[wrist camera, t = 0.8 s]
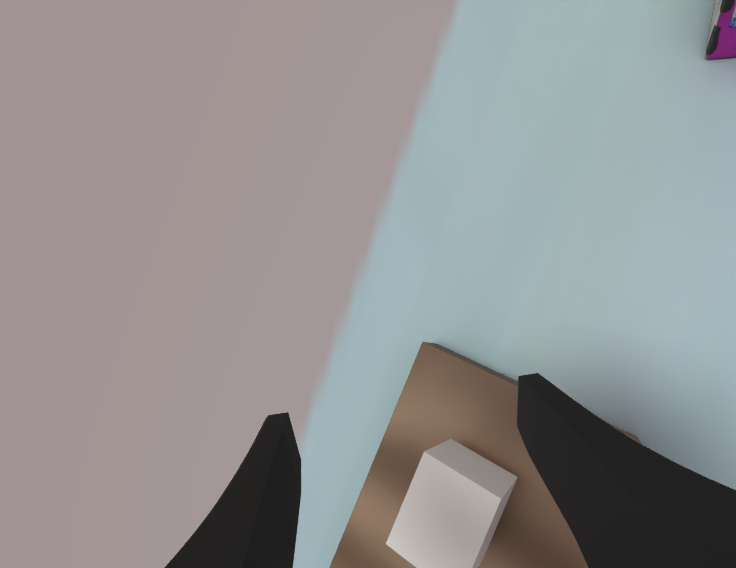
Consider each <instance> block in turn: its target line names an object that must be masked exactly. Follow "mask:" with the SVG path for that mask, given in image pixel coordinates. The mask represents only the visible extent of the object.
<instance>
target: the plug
mask: <svg viewBox="0 0 736 568" xmlns="http://www.w3.org/2000/svg"><path fill="white" fill-rule="evenodd" d="M517 478H518V477H517V476H515V475H513V474H512V473H510V472H508V471H506V470H505V469H503V468H501V467H499V466H498V465H496V464H494V463H493V462H491V461H489V460H487V459H486V458H484V457H482V456H480V455H479V454H477V453H475V452H473V451H472V450H470V449H468V448H466V447H465V446H463V445H461V444H460V443H458V442H456V441H454V440H453V439H449V440H447V441H445V442H443V443H441V444H439V445H437V446H435V447H433V448H431V449H428V450H426V451H424V453H423V455H422V458H421V460H420V463H419V465H418V467H417V470H416V472H415V475H414V477H413V479H412V482H411V484H410V487H409V489H408V491H407V494H406V496H405V499H404V501H403V503H402V506H401V508H400V511H399V513H398V515H397V518H396V520H395V523H394V525H393V528H392V530H391V532H390V535H389V537H388V540H387V542H386V545H388V546H389V547H390V548H392V549H393V550H394V551H396V552H397V553H398V554H399V555H401V556H402V557H403V558H405V559H406V560H407V561H408V562H410V563H411V564H412V565H414V566H415V567H416V568H478V567H479V566H480V564H481V562H482V560H483V558H484V556H485V553H486V551H487V549H488V546H489V544H490V541H491V539H492V537H493V534H494V532H495V530H496V527H497V525H498V523H499V520H500V518H501V515H502V513H503V511H504V508H505V506H506V504H507V501H508V499H509V497H510V494H511V492H512V489H513V487H514V485H515V482H516V480H517Z"/></svg>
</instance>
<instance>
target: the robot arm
mask: <svg viewBox="0 0 736 568" xmlns="http://www.w3.org/2000/svg"><path fill="white" fill-rule="evenodd" d="M517 427H518V430H519V432H520V435H521V437H522V440H523V442H524V445H525V447H526V449H527V452H528V454H529V456H530V458H531V460H532V462H533V464H534V465H535V467H536V469H537V471H538V473H539V474H540V476H541V478H542V480H543V481H544V483H545V485H546V487H547V488H548V490H549V492H550V494H551V496H552V497H553V499H554V501H555V503H556V504H557V506H558V508H559V510H560V511H561V513H562V515H563V517H564V518H565V520H566V522H567V524H568V526H569V527H570V529H571V531H572V533H573V535H574V537H575V539H576V541H577V543H578V546H579V548H580V550H581V552H582V554H583V557H584V559H585V561H586V563H587V565H588V568H736V490H734V489H731V488H729V487H727V486H724V485H722V484H720V483H717V482H715V481H713V480H710V479H708V478H706V477H704V476H702V475H700V474H698V473H695V472H693V471H691V470H689V469H687V468H685V467H683V466H681V465H679V464H677V463H675V462H673V461H671V460H669V459H667V458H665V457H663V456H661V455H660V454H658V453H656V452H654V451H652V450H650V449H649V448H647V447H645V446H643V445H641V444H640V443H638V442H636V441H635V440H633V439H631V438H630V437H628V436H626V435H625V434H623V433H622V432H620V431H618V430H617V429H615V428H614V427H612V426H611V425H609V424H607V423H606V422H604V421H603V420H601V419H600V418H598V417H597V416H596V415H594V414H593V413H591V412H590V411H588V410H587V409H586V408H584V407H583V406H581V405H580V404H579V403H577V402H576V401H574V400H573V399H572V398H570V397H569V396H568V395H566V394H565V393H564V392H562V391H561V390H560V389H558V388H557V387H556V386H554V385H553V384H552V383H550V382H549V381H548V380H546V379H545V378H544V377H542V376H541V375H540V374H538V373H536V374H530V375H523V376H519V379H518V406H517ZM300 498H301V458H300V454H299V451H298V447H297V443H296V440H295V436H294V432H293V429H292V425H291V421H290V418H289V414H288V413H281V414H274V415H269V416H268V417H267V418H266V419H265V421H264V423H263V425H262V427H261V429H260V431H259V433H258V435H257V437H256V439H255V441H254V442H253V444H252V446H251V448H250V450H249V452H248V454H247V455H246V457H245V459H244V461H243V462H242V464H241V465H240V467H239V469H238V470H237V472H236V474H235V475H234V477H233V479H232V480H231V482H230V483H229V485H228V486H227V488H226V489H225V491H224V493H223V494H222V495H221V497H220V499H219V500H218V502H217V503H216V504H215V506H214V507H213V509H212V510H211V512H210V513H209V514H208V516H207V517H206V518H205V520H204V521H203V522H202V523H201V525H200V526H199V527H198V529H197V530H196V531H195V533H194V534H193V535H192V536H191V537H190V539H189V540H188V541H187V542H186V543H185V545H184V546H183V547H182V548H181V549H180V551H179V552H178V553H177V554H176V555H175V556H174V558H173V559H172V560H171V561H170V562H169V563H168V564H167V566H166V567H165V568H293V560H294V551H295V542H296V534H297V525H298V516H299V507H300Z"/></svg>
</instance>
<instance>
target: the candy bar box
mask: <svg viewBox="0 0 736 568" xmlns="http://www.w3.org/2000/svg"><path fill="white" fill-rule="evenodd" d="M727 57H736V0H715V5H714V11H713V16H712V22H711V27H710V33H709V38H708V44H707V49H706V58H708V59H717V58H727Z"/></svg>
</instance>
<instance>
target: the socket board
mask: <svg viewBox="0 0 736 568" xmlns="http://www.w3.org/2000/svg"><path fill="white" fill-rule="evenodd" d="M517 406H518V382H517V381H515V380H513V379H511V378H509V377H507V376H504V375H502V374H500V373H498V372H496V371H494V370H491V369H489V368H487V367H485V366H483V365H481V364H479V363H476V362H474V361H472V360H470V359H468V358H466V357H464V356H461V355H459V354H457V353H455V352H453V351H451V350H448V349H446V348H444V347H442V346H440V345H438V344H434V343H427V342H422V345H421V347H420V349H419V352H418V354H417V357H416V359H415V362H414V364H413V366H412V369H411V371H410V374H409V376H408V379H407V381H406V383H405V386H404V388H403V391H402V393H401V396H400V398H399V400H398V403H397V405H396V408H395V410H394V412H393V415H392V417H391V420H390V422H389V425H388V427H387V429H386V432H385V434H384V437H383V439H382V442H381V444H380V446H379V449H378V451H377V454H376V456H375V459H374V461H373V463H372V466H371V468H370V471H369V473H368V475H367V478H366V480H365V483H364V485H363V488H362V490H361V492H360V495H359V497H358V500H357V502H356V505H355V507H354V509H353V512H352V514H351V517H350V519H349V522H348V524H347V526H346V529H345V531H344V534H343V536H342V539H341V541H340V543H339V546H338V548H337V551H336V553H335V555H334V558H333V560H332V563H331V565H330V568H416V567H415V566H414V565H412V564H411V563H410V562H408V561H407V560H406V559H405V558H403V557H402V556H401V555H399V554H398V553H397V552H396V551H394V550H393V549H392V548H390V547H389V546H388V545H386V542H387V540H388V537H389V535H390V532H391V530H392V528H393V525H394V523H395V520H396V518H397V515H398V513H399V511H400V508H401V506H402V503H403V501H404V499H405V496H406V494H407V491H408V489H409V487H410V484H411V482H412V479H413V477H414V475H415V472H416V470H417V467H418V465H419V463H420V460H421V458H422V455H423V453H424V451H426V450H428V449H431V448H433V447H435V446H437V445H439V444H441V443H443V442H445V441H447V440H449V439H453V440H454V441H456V442H458V443H460V444H461V445H463V446H465V447H466V448H468V449H470V450H472V451H473V452H475V453H477V454H479V455H480V456H482V457H484V458H486V459H487V460H489V461H491V462H493V463H494V464H496V465H498V466H499V467H501V468H503V469H505V470H506V471H508V472H510V473H512V474H513V475H515V476H517V477H518V478H517V480H516V482H515V485H514V487H513V489H512V492H511V494H510V497H509V499H508V501H507V504H506V506H505V508H504V511H503V513H502V515H501V518H500V520H499V523H498V525H497V527H496V530H495V532H494V534H493V537H492V539H491V541H490V544H489V546H488V549H487V551H486V553H485V556H484V558H483V560H482V562H481V564H480V566H479V567H478V568H588V565H587V563H586V561H585V559H584V557H583V554H582V552H581V550H580V548H579V546H578V543H577V541H576V539H575V537H574V535H573V533H572V531H571V529H570V527H569V526H568V524H567V522H566V520H565V518H564V517H563V515H562V513H561V511H560V510H559V508H558V506H557V504H556V503H555V501H554V499H553V497H552V496H551V494H550V492H549V490H548V488H547V487H546V485H545V483H544V481H543V480H542V478H541V476H540V474H539V473H538V471H537V469H536V467H535V465H534V464H533V462H532V460H531V458H530V456H529V454H528V452H527V449H526V447H525V445H524V442H523V440H522V437H521V435H520V432H519V430H518V427H517ZM607 424H608V423H607ZM609 425H610V424H609ZM611 426H612V425H611ZM612 427H614V426H612ZM614 428H615V429H617V430H618V431H620V432H622V433H623V434H625V435H626V436H628V437H630V438H631V439H633V440H635V441H636V442H638V443H640V441H639V439H638V437H636V436H633V435H631V434H629V433H627V432H625V431H623V430H621V429H618V428H616V427H614ZM640 444H641V443H640Z"/></svg>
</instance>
